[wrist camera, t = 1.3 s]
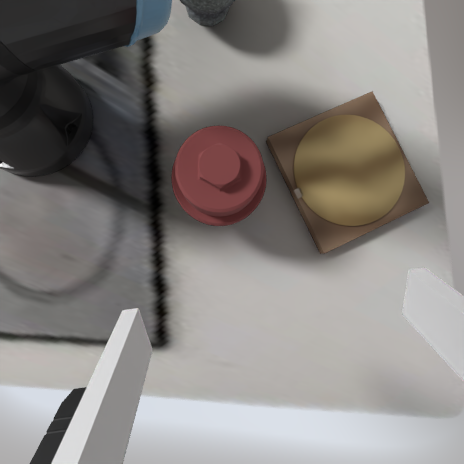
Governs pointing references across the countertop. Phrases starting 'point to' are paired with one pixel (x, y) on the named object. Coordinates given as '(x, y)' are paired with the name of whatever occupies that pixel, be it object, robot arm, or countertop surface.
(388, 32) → the countertop surface
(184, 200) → the mechanical component
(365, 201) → the marked board
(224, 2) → the mortar and pestle
